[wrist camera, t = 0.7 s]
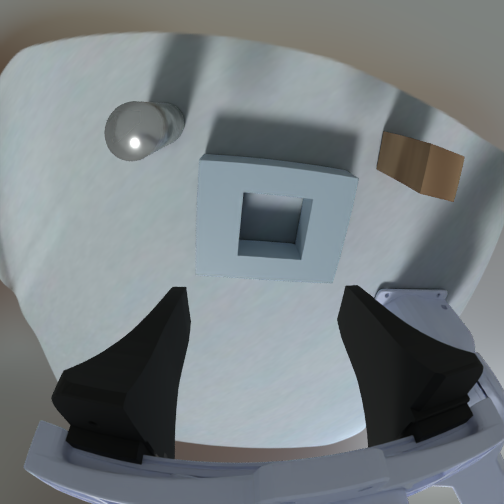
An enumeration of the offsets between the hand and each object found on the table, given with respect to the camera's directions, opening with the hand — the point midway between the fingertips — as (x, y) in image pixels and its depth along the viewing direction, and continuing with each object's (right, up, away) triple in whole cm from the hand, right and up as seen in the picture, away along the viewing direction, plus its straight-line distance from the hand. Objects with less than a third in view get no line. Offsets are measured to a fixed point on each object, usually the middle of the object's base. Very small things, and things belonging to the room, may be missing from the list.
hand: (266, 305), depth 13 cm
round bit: (-7, +11, +4) cm, 14 cm away
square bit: (+10, +10, +6) cm, 15 cm away
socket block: (+1, +5, +8) cm, 9 cm away
